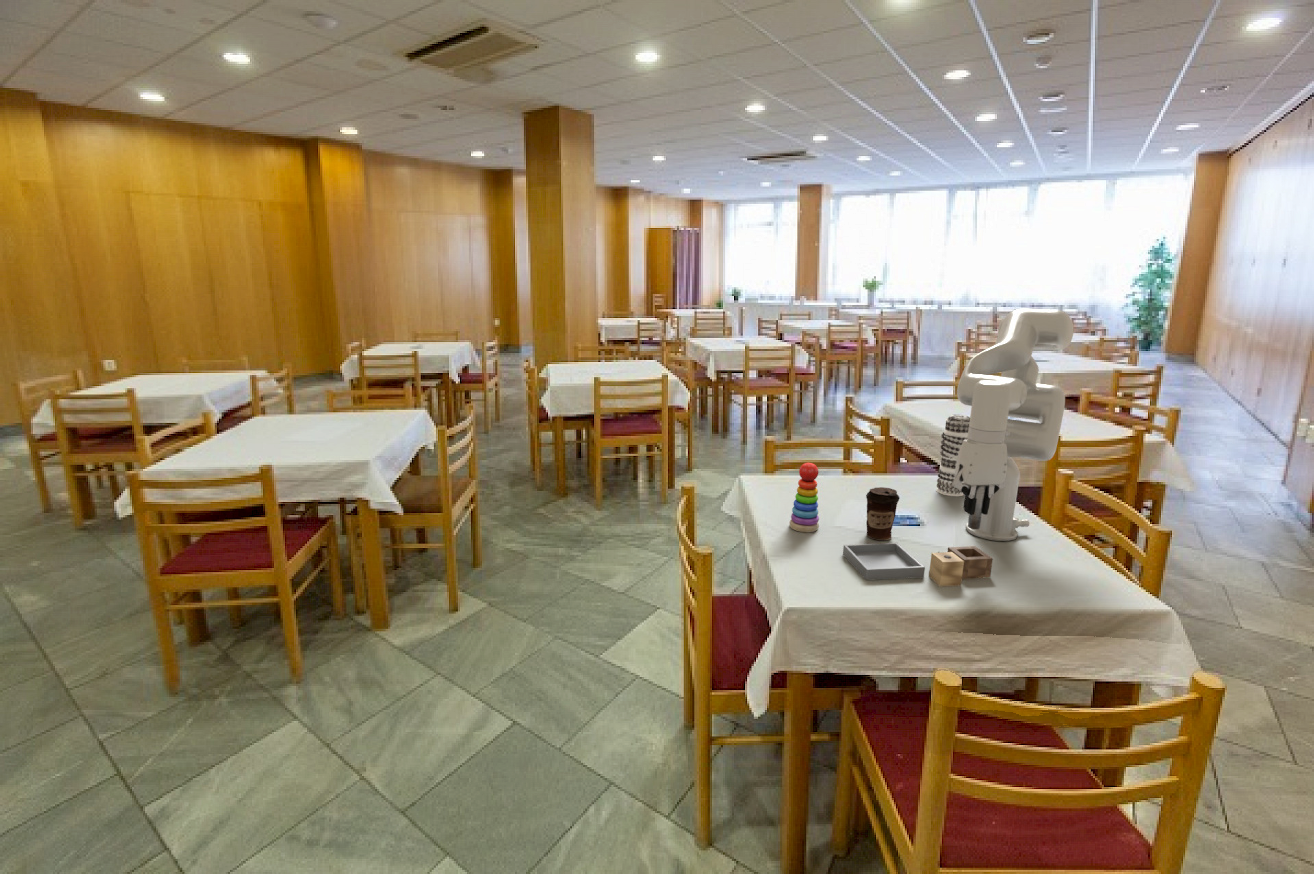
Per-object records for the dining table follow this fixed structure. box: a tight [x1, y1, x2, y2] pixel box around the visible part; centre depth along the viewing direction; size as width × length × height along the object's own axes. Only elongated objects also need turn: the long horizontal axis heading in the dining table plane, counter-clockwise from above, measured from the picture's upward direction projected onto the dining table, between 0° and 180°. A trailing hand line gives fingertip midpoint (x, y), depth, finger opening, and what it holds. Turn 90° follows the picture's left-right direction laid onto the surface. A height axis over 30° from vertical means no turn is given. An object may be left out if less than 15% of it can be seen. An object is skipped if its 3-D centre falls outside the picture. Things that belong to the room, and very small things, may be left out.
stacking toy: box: [789, 462, 820, 533], centre depth 181 cm, size 8×8×19 cm
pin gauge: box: [967, 485, 986, 529], centre depth 153 cm, size 3×3×12 cm
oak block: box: [928, 551, 964, 587], centre depth 152 cm, size 5×5×6 cm
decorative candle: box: [935, 414, 970, 497], centre depth 211 cm, size 9×9×25 cm
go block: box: [946, 545, 994, 580], centre depth 157 cm, size 7×7×5 cm
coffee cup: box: [865, 487, 900, 541], centre depth 176 cm, size 9×8×13 cm
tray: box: [842, 542, 926, 581], centre depth 160 cm, size 14×14×3 cm
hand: (975, 512), depth 154 cm, fingers closed on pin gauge, 2 cm apart
